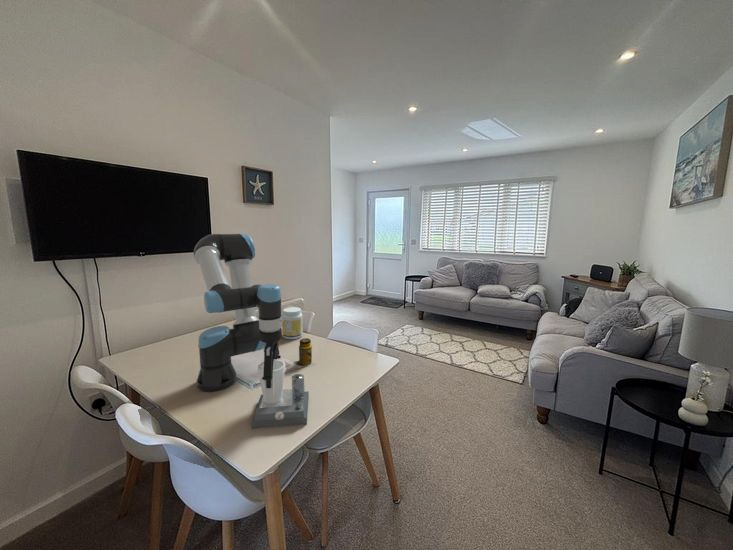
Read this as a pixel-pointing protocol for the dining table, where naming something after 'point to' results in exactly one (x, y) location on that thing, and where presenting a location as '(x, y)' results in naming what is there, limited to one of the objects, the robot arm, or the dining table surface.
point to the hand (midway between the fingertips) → (272, 384)
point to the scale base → (281, 415)
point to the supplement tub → (292, 323)
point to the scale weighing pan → (283, 400)
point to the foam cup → (277, 380)
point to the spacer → (297, 387)
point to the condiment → (304, 353)
